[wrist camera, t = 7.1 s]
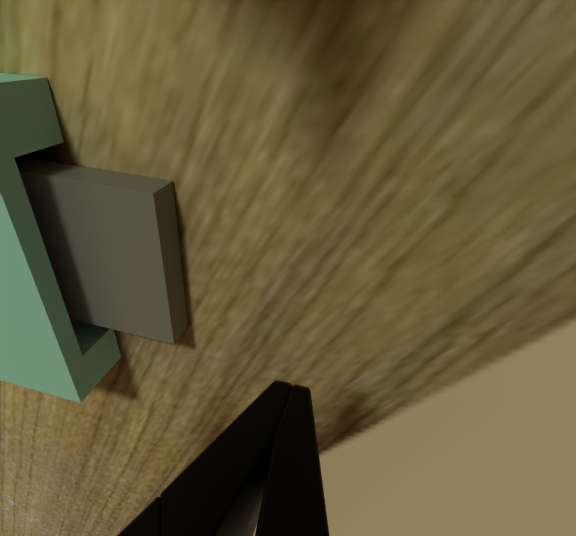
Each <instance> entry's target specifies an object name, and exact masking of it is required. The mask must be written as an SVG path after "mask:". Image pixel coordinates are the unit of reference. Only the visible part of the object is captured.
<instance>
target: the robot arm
mask: <svg viewBox="0 0 576 536" xmlns="http://www.w3.org/2000/svg"><path fill="white" fill-rule="evenodd" d="M257 522H258V523H257ZM256 525H257V529H256V534H255V536H329V531H328V522H327V514H326V507H325V499H324V491H323V483H322V476H321V468H320V460H319V453H318V445H317V437H316V430H315V422H314V414H313V407H312V399H311V391H310V389H309V388H308V387H305V386H300V385H296V384H295V385H293V386H292V384H291V383H288V382H284V381H279V380H276V381H274V382H273V383H272V384H271V385H270V386H269V387H268V388H267V389H266V390H264V391H263V392H262V393H261V394H260V395H259V396H258V397H257V398H256V399H255V400H254V401H253V402H252V403H251V404H250V405H249V406H248V407H247V408H246V409H245V410H244V411H243V412H242V413H241V414H240V415H239V416H238V417H237V418H236V419H235V420H234V421H233V422H232V423H231V424H230V425H229V426H228V427H227V428H226V429H225V430H224V431H223V432H222V433H221V434H220V435H219V436H218V437H217V438H216V439H215V440H214V441H213V442H212V443H211V444H210V445H209V446H208V447H207V448H206V449H205V450H204V451H203V452H202V453H201V454H200V455H199V456H198V457H197V458H196V459H195V460H194V461H193V462H192V463H191V464H190V465H189V466H188V467H187V468H186V469H185V470H184V471H183V472H182V473H181V474H180V475H179V476H178V477H177V478H176V479H175V480H174V481H173V482H172V483H171V484H170V485H169V486H168V487H167V488H166V489H165V490H164V491H163V492H162V493H161V495H160V497H156V498H155V499H154V500H153V501H152V502H151V503H150V504H149V505H148V506H147V507H146V508H145V509H144V510H143V511H142V512H141V513H140V514H139V515H138V516H137V517H136V518H135V519H134V520H133V521H132V522H131V523H130V524H129V525H128V526H127V527H125V528H124V529H123V530H122V531H121V532H120V533H119V534H118V535H117V536H253V533H254V530H255V527H256Z"/></svg>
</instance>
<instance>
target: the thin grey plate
mask: <svg viewBox="0 0 576 536" xmlns="http://www.w3.org/2000/svg"><path fill="white" fill-rule="evenodd" d="M15 161H16V164H17V167H18V170H19V173H20V176H21V179H22V182H23V185H24V188H25V190H26V193H27V196H28V199H29V202H30V205H31V208H32V211H33V214H34V217H35V220H36V222H37V225H38V228H39V231H40V234H41V237H42V240H43V243H44V246H45V249H46V252H47V255H48V257H49V260H50V263H51V266H52V269H53V272H54V275H55V278H56V281H57V284H58V287H59V289H60V292H61V295H62V298H63V301H64V304H65V307H66V310H67V313H68V316H69V319H73V320H77V321H81V322H85V323H89V324H93V325H97V326H101V327H105V328H109V329H113V330H118V331H122V332H126V333H130V334H134V335H138V336H142V337H146V338H150V339H154V340H158V341H162V342H167V343H171V344H175V342H176V341H177V340H178V338H179V337H180V336H181V334H182V333H183V332H184V330H185V329H186V328H187V326H188V319H187V310H186V300H185V291H184V282H183V273H182V263H181V254H180V245H179V235H178V226H177V217H176V207H175V198H174V189H173V181H169V180H162V179H156V178H150V177H144V176H137V175H131V174H125V173H118V172H112V171H106V170H100V169H93V168H87V167H81V166H74V165H68V164H62V163H56V162H49V161H43V160H37V159H30V158H24V157H15Z"/></svg>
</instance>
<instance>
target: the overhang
mask: <svg viewBox="0 0 576 536" xmlns="http://www.w3.org/2000/svg"><path fill="white" fill-rule="evenodd" d="M63 142H64V141H63V137H62V133H61V129H60V126H59V122H58V118H57V114H56V111H55V107H54V103H53V99H52V96H51V92H50V88H49V84H48V81H47V77H37V76H27V75H16V74H5V73H0V380H1V381H5V382H9V383H12V384H16V385H19V386H23V387H26V388H30V389H34V390H37V391H41V392H44V393H48V394H51V395H55V396H58V397H62V398H66V399H69V400H73V401H76V402H80V403H81V402H82V401H83V400H84V399H85V397H86V396H87V395H88V394H89V393H90V392H91V391H92V390H93V388H94V387H95V386H96V385H97V384H98V383H99V382H100V380H101V379H102V378H103V377H104V376H105V375H106V374H107V372H108V371H109V370H110V369H111V368H112V367H113V366H114V364H115V363H116V362H117V361H118V360H119V359H120V358H121V355H120V351H119V347H118V343H117V340H116V336H115V332H114V330H113V329H109V328H105V327H101V326H97V325H93V324H89V323H85V322H81V321H77V320H73V319H69V316H68V313H67V310H66V307H65V304H64V301H63V298H62V295H61V292H60V289H59V287H58V284H57V281H56V278H55V275H54V272H53V269H52V266H51V263H50V260H49V257H48V255H47V252H46V249H45V246H44V243H43V240H42V237H41V234H40V231H39V228H38V225H37V222H36V220H35V217H34V214H33V211H32V208H31V205H30V202H29V199H28V196H27V193H26V190H25V188H24V185H23V182H22V179H21V176H20V173H19V170H18V167H17V164H16V161H15V157H18V156H21V155H25V154H28V153H31V152H34V151H37V150H41V149H44V148H47V147H50V146H54V145H57V144H60V143H63Z"/></svg>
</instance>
